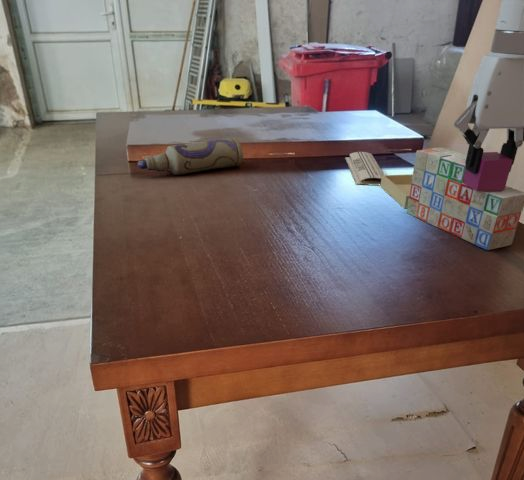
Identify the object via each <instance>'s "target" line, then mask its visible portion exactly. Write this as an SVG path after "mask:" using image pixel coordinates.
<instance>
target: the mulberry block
mask: <svg viewBox="0 0 524 480" xmlns="http://www.w3.org/2000/svg"><path fill="white" fill-rule="evenodd" d="M511 164H512V159H510V158H508V157H506V156H504V155H502V154H500V152H497V151H483V155H482V159H481V163H480V167H479V171H478V173H477V174H473V173H471V172H470V171H468V170H466V171H465V175H464V179H463V183H465V184H466V185H468V186H469V187H471V188H472V189H474V190H475V191H498V190H505V186H507V182H508V178H509V174H510V172H511V171H510V168H511ZM511 169H512V168H511ZM509 171H510V172H509Z"/></svg>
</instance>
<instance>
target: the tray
mask: <svg viewBox="0 0 524 480" xmlns="http://www.w3.org/2000/svg"><path fill="white" fill-rule="evenodd" d="M412 176H413V173H411V174H384V175H382V177H381V184H380V185H379V187H380V186H381V187H382V188H383V189H384V190H385V191H386V194H388V195H389V196H390V195H391V196H390V197H391V198H392V199H393V198H394V199H395V200H396V201H395V200H394V199H393V200H394V201H395V202H396V203H397V204H399V205H400V206H401V207H402V208H403V209H407V207H408V201H409V197H410V190H411V184H412ZM381 187H380V188H381ZM382 188H381V189H382ZM383 189H382V190H383ZM384 190H383V191H384ZM385 191H384V192H385Z"/></svg>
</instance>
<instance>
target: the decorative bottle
mask: <svg viewBox="0 0 524 480" xmlns="http://www.w3.org/2000/svg"><path fill="white" fill-rule="evenodd" d="M243 160H244V152H243V147H242V144H241V143H240V141H239V140H238V139H237V138H235V137H229V138H220V139H211V140H201V141H196V142H188V143H182V144H174V145H169V146H167V148H166V150H165V153H163V152H162V153H158V154H155V155H154V156H147V157H145V158H143V159H141V160H138V161H137V164H136V166H137V168H138V169H141V170H146V171H157V172H168V173H172V175H177V176H178V175H186V174H191V173H199V172H204V171H212V170H213V171H214V170H218V169H224V168H232V167H240V166H241V165H242V162H243Z"/></svg>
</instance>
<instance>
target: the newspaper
mask: <svg viewBox="0 0 524 480" xmlns="http://www.w3.org/2000/svg"><path fill="white" fill-rule="evenodd" d="M344 159H345V161H346V163H347V166H348V169H349V172H350V173H351V176H352V178H353V181H354V183H355V185H367V184H381V177H382V175H385V174H384V172H383V171H382V169H381V167H380V165H379V164H378V162H377V160H376V159H375V157H374V155H373V154H372V153H370V152H366V151H354V152H351V153H349V156H348V157H344ZM367 186H368V185H367Z"/></svg>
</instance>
